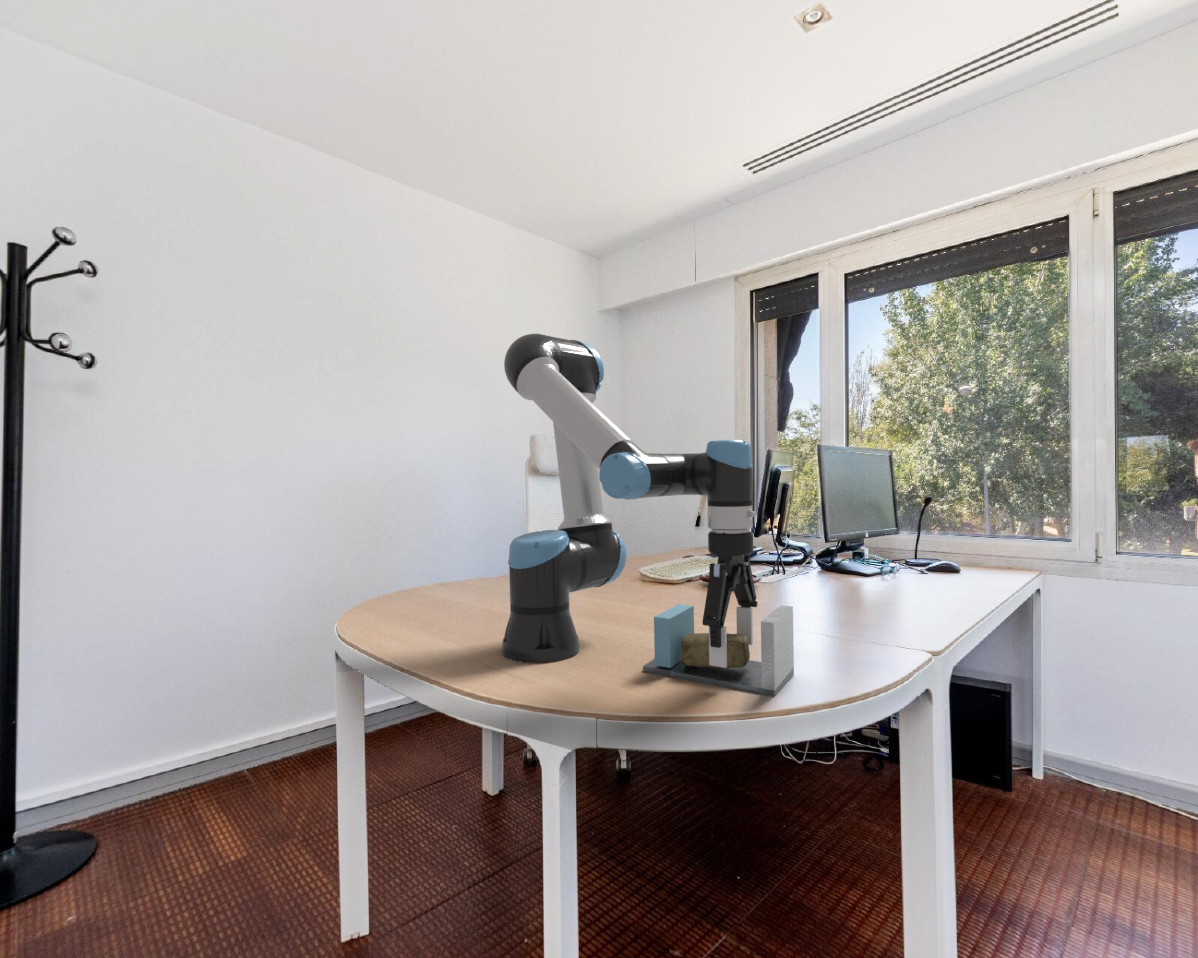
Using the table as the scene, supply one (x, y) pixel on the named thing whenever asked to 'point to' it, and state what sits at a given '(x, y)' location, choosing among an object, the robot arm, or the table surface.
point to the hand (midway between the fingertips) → (732, 654)
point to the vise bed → (755, 674)
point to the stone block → (698, 650)
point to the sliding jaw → (672, 633)
